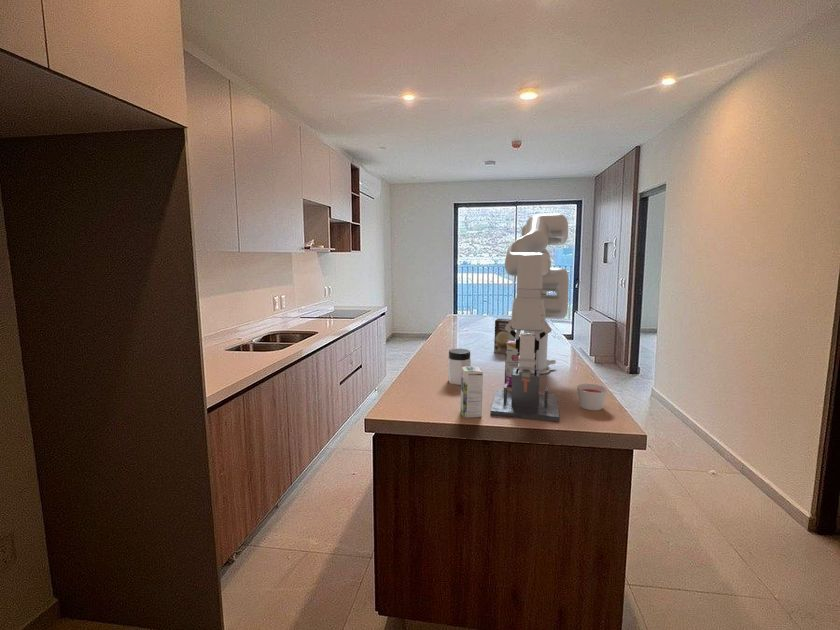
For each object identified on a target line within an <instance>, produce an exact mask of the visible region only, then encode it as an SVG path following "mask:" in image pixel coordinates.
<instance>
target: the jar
mask: <svg viewBox="0 0 840 630" xmlns="http://www.w3.org/2000/svg"><path fill="white" fill-rule="evenodd" d="M447 358H448V359H447V360H448V362H447V363H448V365H447V366H448V369H447V371H448V372H447V373H448V376H447V377H448V379H447V380H448V382H449V384H450V385H457V386H461V376H462V367H466V366H471V365H472V364H471V363H472V362H471V350H469V349H466V348H452V349H450V350H448V357H447Z"/></svg>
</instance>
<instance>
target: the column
mask: <svg viewBox="0 0 840 630" xmlns="http://www.w3.org/2000/svg"><path fill="white" fill-rule="evenodd" d="M519 336H520V355H519V358H518V361H519V365H518V369H519V371H518V374H520V375H522V371H530V375H534V372H535V371H534V370H535V364H534V362H535V356H534V346H535V334H534V333H524V332H520V335H519Z"/></svg>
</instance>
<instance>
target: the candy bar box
mask: <svg viewBox="0 0 840 630" xmlns="http://www.w3.org/2000/svg"><path fill="white" fill-rule="evenodd" d="M537 353H538V350H537V351H536V353H534V356H535V362H534V364H535V369H537ZM519 355H520V352H518V349H516V340H515V341H507V343H506V354H505V363H504V385H505V384H507V387H512V374H513V370H514V368H518V365H519V361H518V358H519Z"/></svg>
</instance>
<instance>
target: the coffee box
mask: <svg viewBox="0 0 840 630" xmlns="http://www.w3.org/2000/svg"><path fill="white" fill-rule="evenodd" d="M510 320H511V319H506V318H496V319H495V320H494V337H493V338H494V339H493V341H494V344H493V353H494V354H503V355H506V343H507V341H516V339H515V338H514V337H513V336H512V335H511V334H510V333H509V332H508V331H506V330H505V327H506V325H507V324H508V323H509V321H510ZM510 328H511V329H512V326H511V327H510ZM512 330H514V329H512ZM514 331H515V332H516V330H514Z"/></svg>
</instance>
